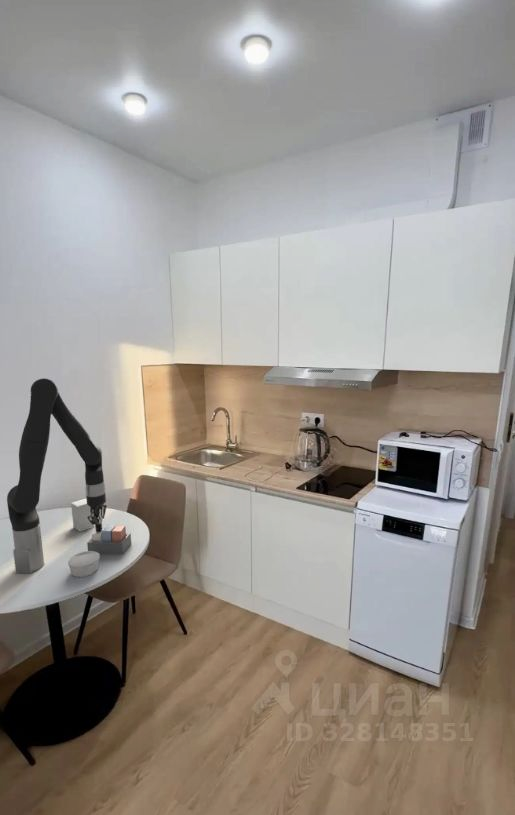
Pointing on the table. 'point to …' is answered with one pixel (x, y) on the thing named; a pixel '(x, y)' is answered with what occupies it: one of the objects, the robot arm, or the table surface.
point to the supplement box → (81, 515)
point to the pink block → (119, 533)
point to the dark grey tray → (110, 546)
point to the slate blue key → (107, 533)
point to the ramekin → (84, 563)
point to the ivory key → (97, 536)
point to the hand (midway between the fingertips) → (99, 531)
